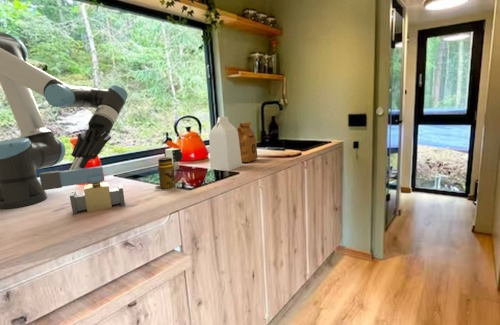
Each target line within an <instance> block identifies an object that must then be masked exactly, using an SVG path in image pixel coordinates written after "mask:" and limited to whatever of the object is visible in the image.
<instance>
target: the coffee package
mask: <svg viewBox="0 0 500 325" xmlns="http://www.w3.org/2000/svg"><path fill="white" fill-rule="evenodd" d="M251 125H252V123H251V121H247V122H244V123H243V122H240V123H239V125H238V127H237V128H236V129H237V131H238V136H239V144H240V153H241V161H242V164H243V163H250V162H253V161H257V159H258V149H257V147H258V146H257V145H258V144H257V143H258V142H257V139H256V138H257V137H256V135H255V134H254V132H253V131H252V129H251Z"/></svg>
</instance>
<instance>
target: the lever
mask: <svg viewBox="0 0 500 325" xmlns="http://www.w3.org/2000/svg"><path fill="white" fill-rule="evenodd" d="M38 176H39V180H40V181H39V182H40V184H41V186H42V190H45V191H47V190H54V189H55V190H56V189H61V188H63V187H69V186H76V185H84V184H85V185H86V184H92V183H99V182H100V183H103V182H105V176H104V168H103V166H101V165H99V166H92V167H85V168H83V169H75V170H69V169H68V170H67V169H66V170H53V171H51V170H50V171H43V172H42V171H41V172H40V173H39V174H38Z"/></svg>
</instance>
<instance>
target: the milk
mask: <svg viewBox="0 0 500 325" xmlns="http://www.w3.org/2000/svg"><path fill="white" fill-rule="evenodd" d="M229 121H230V120H229V118H228V116H219V117H217V121H216V124H215V125H214V126H213V127H212V129H211V130H210V132H209V134H208V136H209V137H208V138H209V158H210V159H209V162H210V166H209V168H210V170H213V169H216V171H226V170H228V172H229V171H232V170H234V169H237V167H238V168H241V167H243V163H242V161H241V153H240V144H239V136H238V131H237V129H238V128H237V127H235V126H234V125H233V124H232V123H231V122H229ZM240 166H241V167H240Z"/></svg>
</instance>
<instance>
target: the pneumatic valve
mask: <svg viewBox="0 0 500 325" xmlns="http://www.w3.org/2000/svg"><path fill="white" fill-rule="evenodd" d="M163 155H164V158H172V164H173V165H174V171H176V170H179V169H180V166H179V162H182V161H183V158H184V156H183V152H182V149H181V148H175V147H174V146H172V147H171V148H170V147H169V148H165V149H164V153H163Z"/></svg>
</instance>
